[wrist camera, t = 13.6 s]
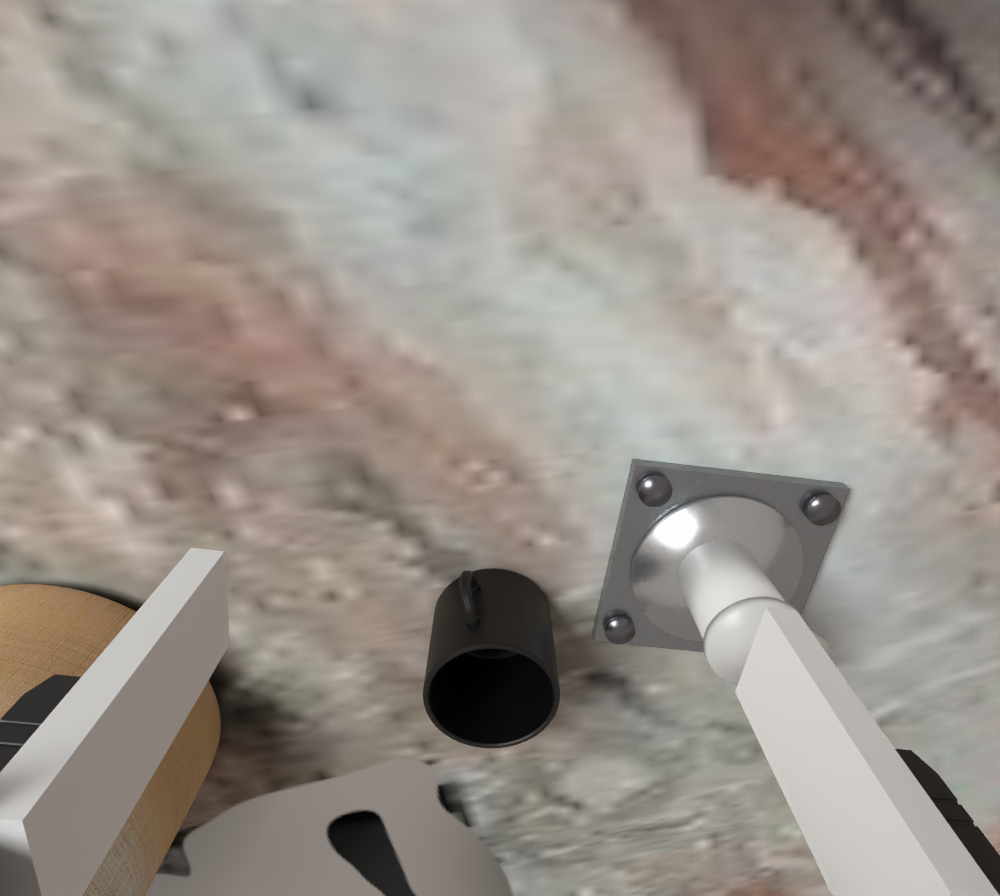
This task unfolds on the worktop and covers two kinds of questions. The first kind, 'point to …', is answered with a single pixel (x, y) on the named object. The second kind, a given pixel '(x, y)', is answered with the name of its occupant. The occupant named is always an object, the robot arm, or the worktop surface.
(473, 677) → the mug
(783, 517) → the duct flange
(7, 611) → the planter
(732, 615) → the elbow
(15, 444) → the worktop surface
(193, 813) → the worktop surface
